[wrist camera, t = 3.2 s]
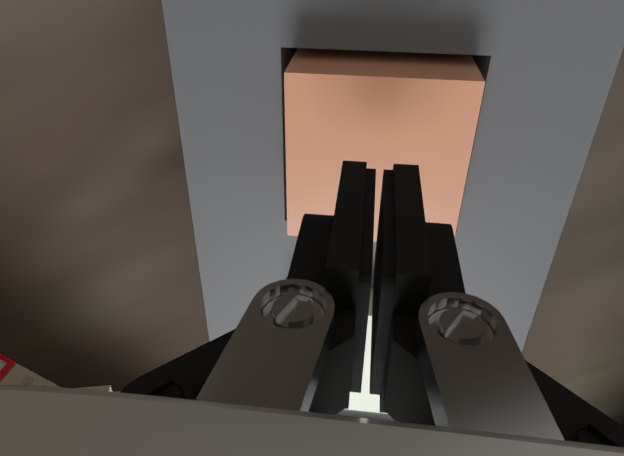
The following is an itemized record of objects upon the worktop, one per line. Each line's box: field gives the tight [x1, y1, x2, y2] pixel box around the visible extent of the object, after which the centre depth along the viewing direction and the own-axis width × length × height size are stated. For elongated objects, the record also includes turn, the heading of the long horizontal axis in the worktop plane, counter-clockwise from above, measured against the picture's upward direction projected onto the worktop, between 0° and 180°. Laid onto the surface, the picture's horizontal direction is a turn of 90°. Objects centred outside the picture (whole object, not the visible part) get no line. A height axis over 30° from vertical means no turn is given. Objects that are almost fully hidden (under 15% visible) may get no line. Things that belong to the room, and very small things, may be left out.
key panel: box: [162, 0, 624, 421], centre depth 21 cm, size 26×12×4 cm, turn 179°
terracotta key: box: [284, 48, 485, 242], centre depth 15 cm, size 5×5×3 cm
